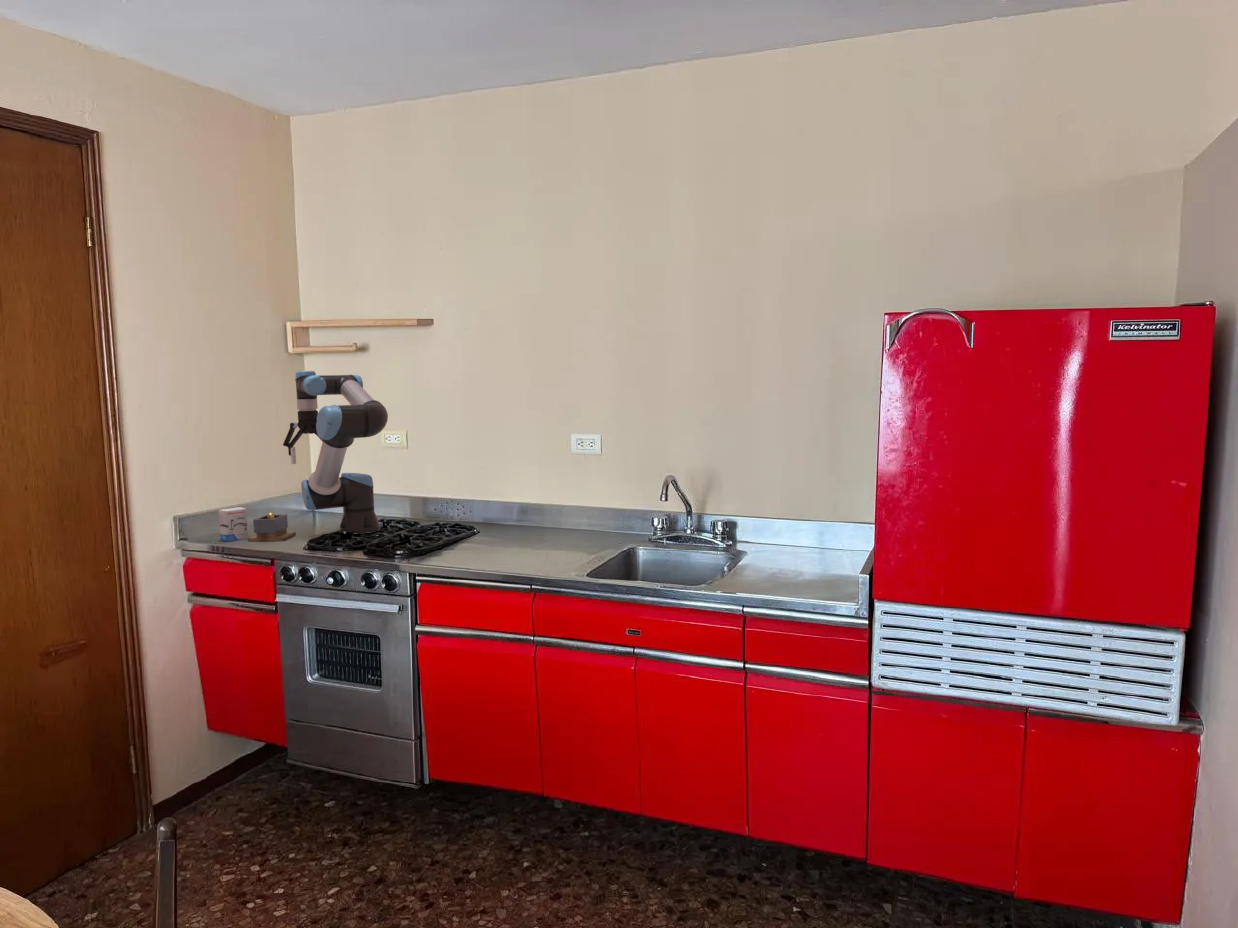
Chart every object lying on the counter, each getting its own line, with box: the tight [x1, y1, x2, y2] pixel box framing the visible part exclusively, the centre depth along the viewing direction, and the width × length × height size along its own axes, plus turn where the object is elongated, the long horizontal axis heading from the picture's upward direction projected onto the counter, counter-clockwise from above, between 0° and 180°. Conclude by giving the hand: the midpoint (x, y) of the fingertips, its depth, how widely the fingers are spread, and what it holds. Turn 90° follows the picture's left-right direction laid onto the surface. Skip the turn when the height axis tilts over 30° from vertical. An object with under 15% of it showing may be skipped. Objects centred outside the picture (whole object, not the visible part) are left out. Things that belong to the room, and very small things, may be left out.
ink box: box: [218, 506, 249, 543], centre depth 309 cm, size 9×5×12 cm, turn 143°
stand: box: [247, 528, 297, 542], centre depth 310 cm, size 14×10×3 cm
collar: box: [253, 514, 289, 534], centre depth 310 cm, size 8×11×5 cm
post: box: [266, 512, 275, 519], centre depth 310 cm, size 2×3×6 cm
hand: (310, 463), depth 323 cm, fingers open, 13 cm apart
